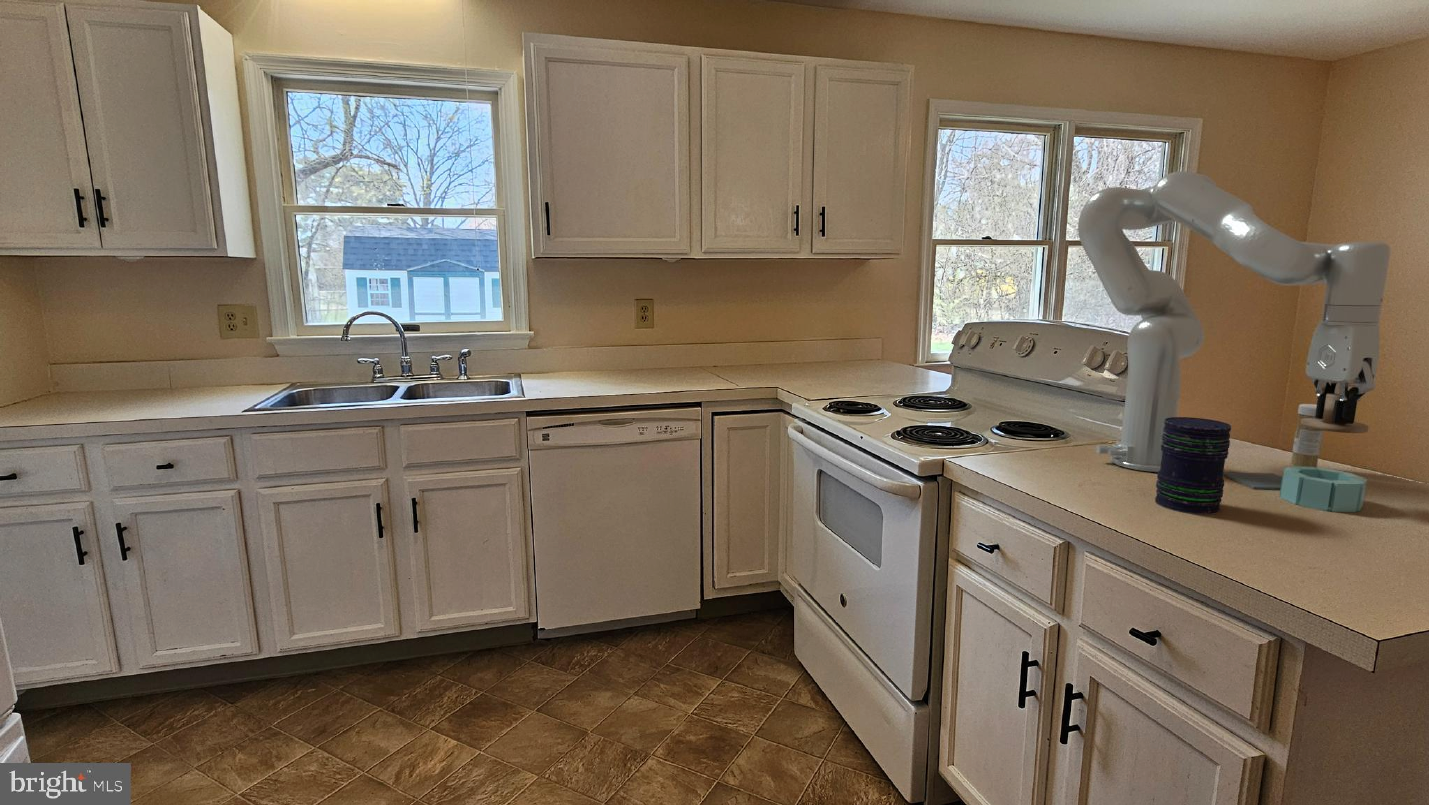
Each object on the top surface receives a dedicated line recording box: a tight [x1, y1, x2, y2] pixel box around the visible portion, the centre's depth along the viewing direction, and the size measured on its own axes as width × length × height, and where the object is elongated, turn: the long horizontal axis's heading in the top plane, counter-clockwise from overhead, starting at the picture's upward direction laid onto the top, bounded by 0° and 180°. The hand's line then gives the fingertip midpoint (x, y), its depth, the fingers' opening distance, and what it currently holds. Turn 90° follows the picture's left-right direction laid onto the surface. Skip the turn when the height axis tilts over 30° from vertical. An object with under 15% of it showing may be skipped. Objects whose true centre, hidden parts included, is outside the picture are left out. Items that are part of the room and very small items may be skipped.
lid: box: [1301, 393, 1369, 434], centre depth 125 cm, size 9×9×6 cm
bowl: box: [1279, 466, 1368, 513], centre depth 128 cm, size 11×11×5 cm
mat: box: [1223, 471, 1282, 491], centre depth 140 cm, size 10×10×1 cm
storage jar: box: [1154, 416, 1232, 515], centre depth 125 cm, size 10×10×15 cm
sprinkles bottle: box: [1289, 403, 1324, 468], centre depth 148 cm, size 5×5×14 cm
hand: (1334, 420), depth 125 cm, fingers closed on lid, 3 cm apart
